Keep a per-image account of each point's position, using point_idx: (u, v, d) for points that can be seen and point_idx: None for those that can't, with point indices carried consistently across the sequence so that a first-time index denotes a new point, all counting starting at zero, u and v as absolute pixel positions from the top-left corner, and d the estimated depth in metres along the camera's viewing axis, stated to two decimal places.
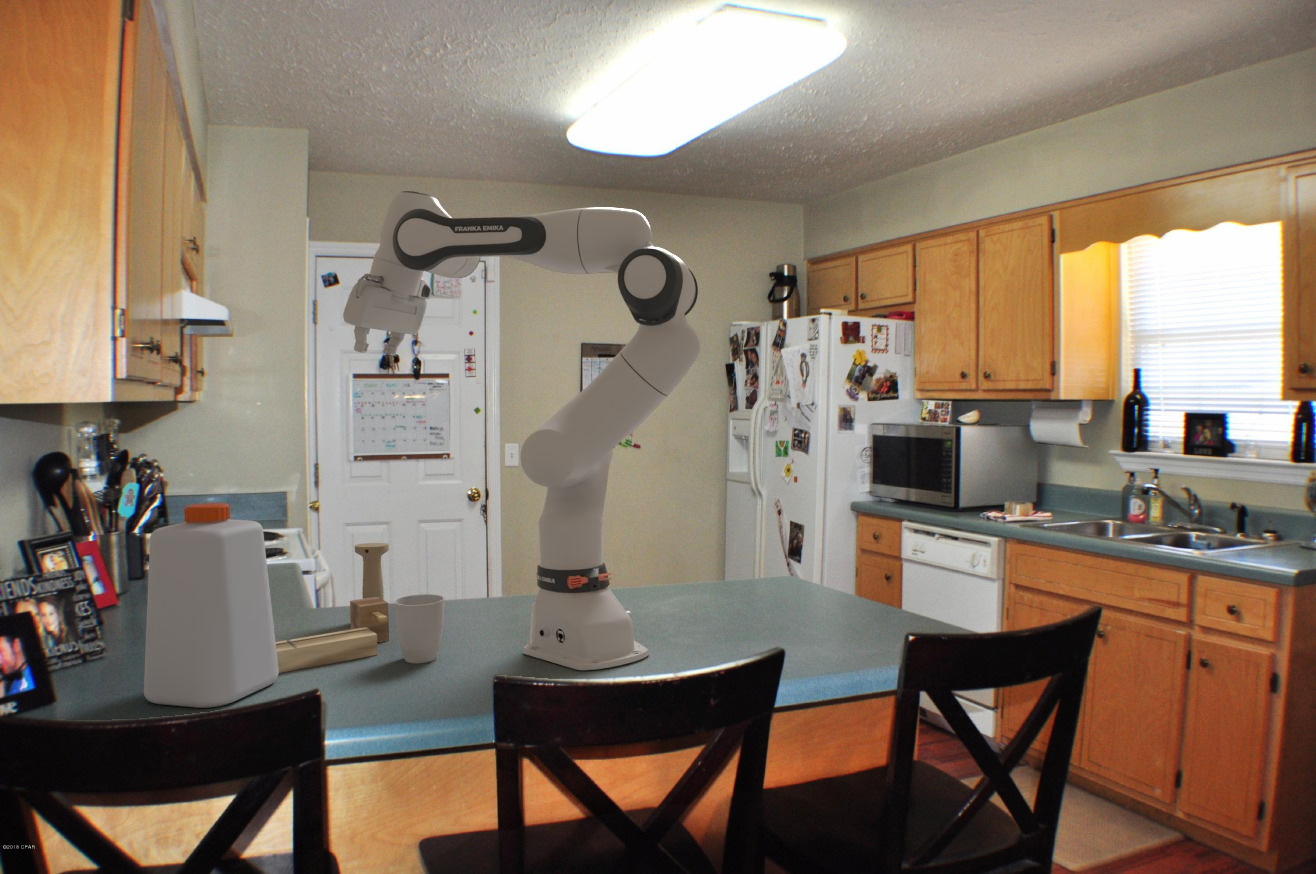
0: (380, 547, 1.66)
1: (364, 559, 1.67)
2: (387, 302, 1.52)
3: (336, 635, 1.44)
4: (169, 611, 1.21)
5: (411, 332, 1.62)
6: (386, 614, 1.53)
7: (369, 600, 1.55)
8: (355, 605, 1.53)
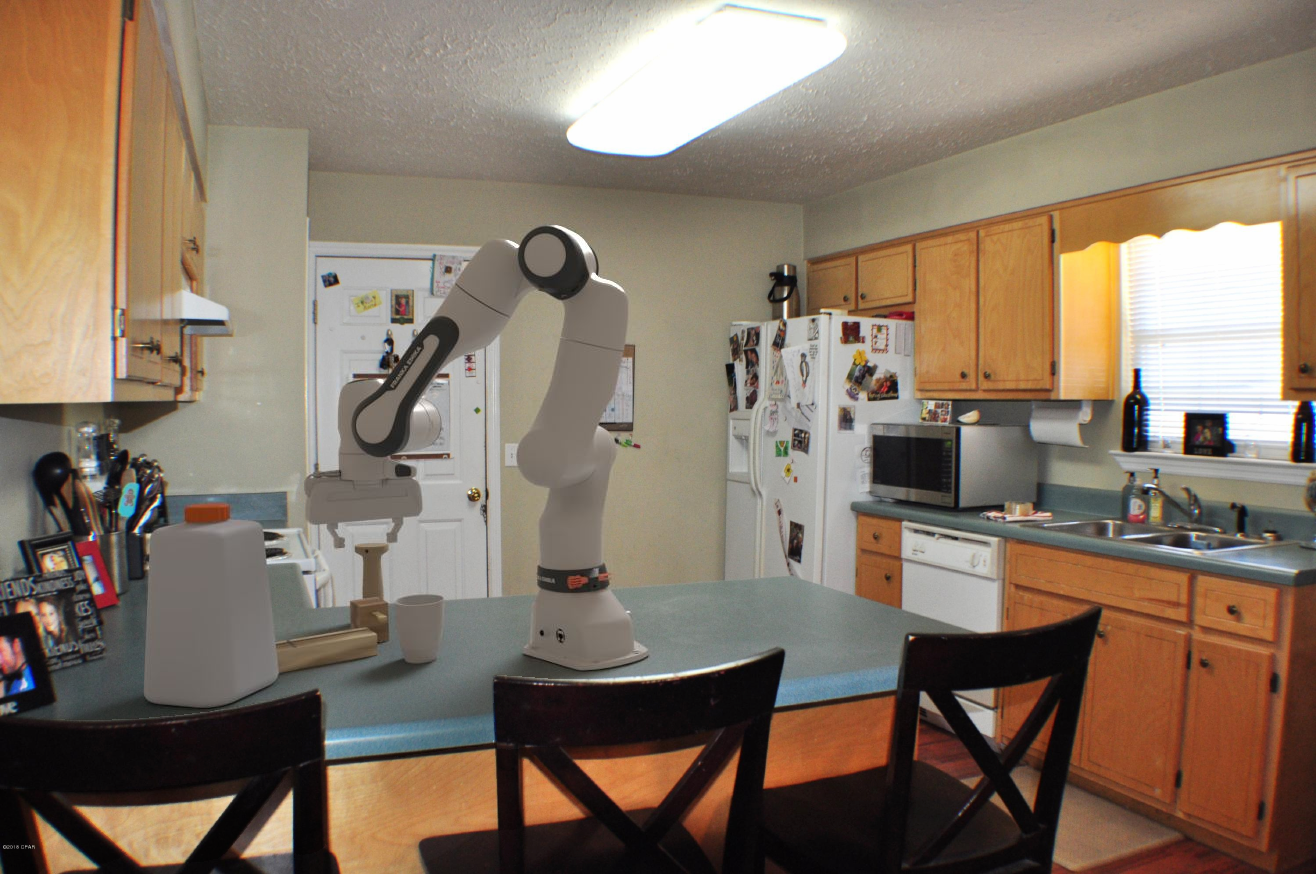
0: (380, 547, 1.66)
1: (364, 559, 1.67)
2: (350, 493, 1.51)
3: (336, 635, 1.44)
4: (169, 611, 1.21)
5: (409, 514, 1.57)
6: (386, 614, 1.53)
7: (369, 600, 1.55)
8: (355, 605, 1.53)
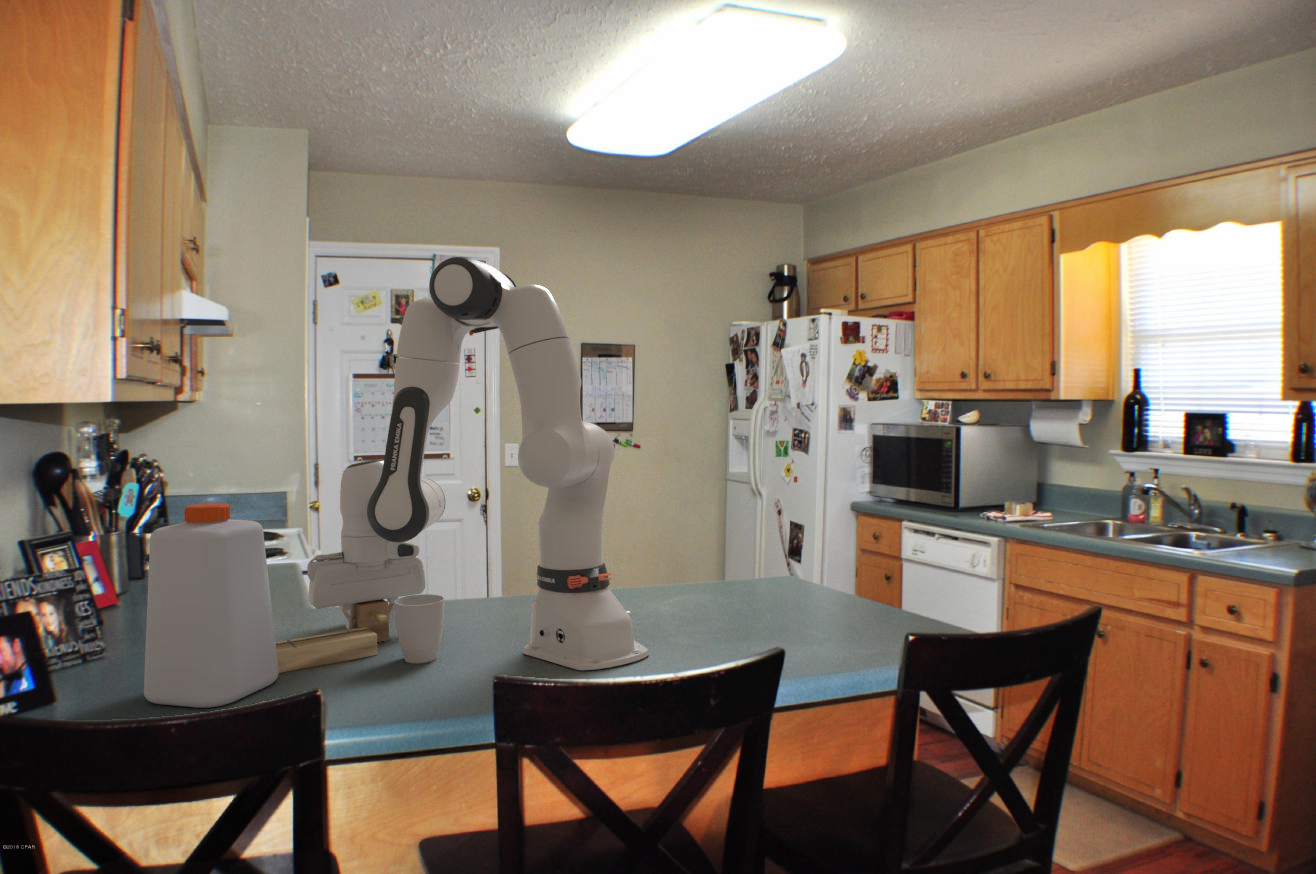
0: None
1: None
2: (353, 575, 1.51)
3: (336, 635, 1.44)
4: (169, 611, 1.21)
5: (412, 593, 1.57)
6: (386, 614, 1.53)
7: None
8: (355, 605, 1.53)
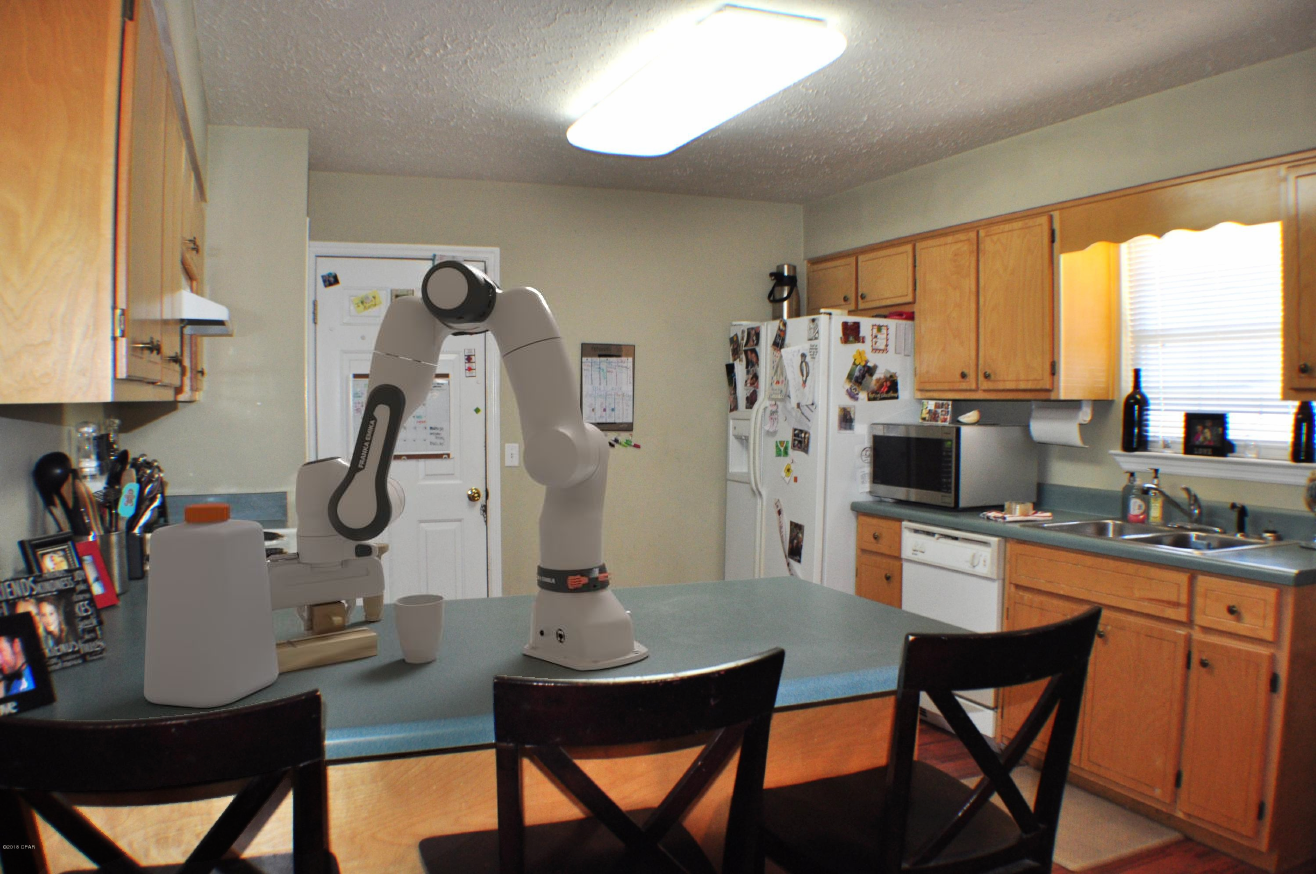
0: (380, 547, 1.66)
1: None
2: (309, 575, 1.47)
3: (336, 635, 1.44)
4: (169, 611, 1.21)
5: (371, 594, 1.53)
6: (343, 616, 1.49)
7: None
8: (311, 606, 1.48)
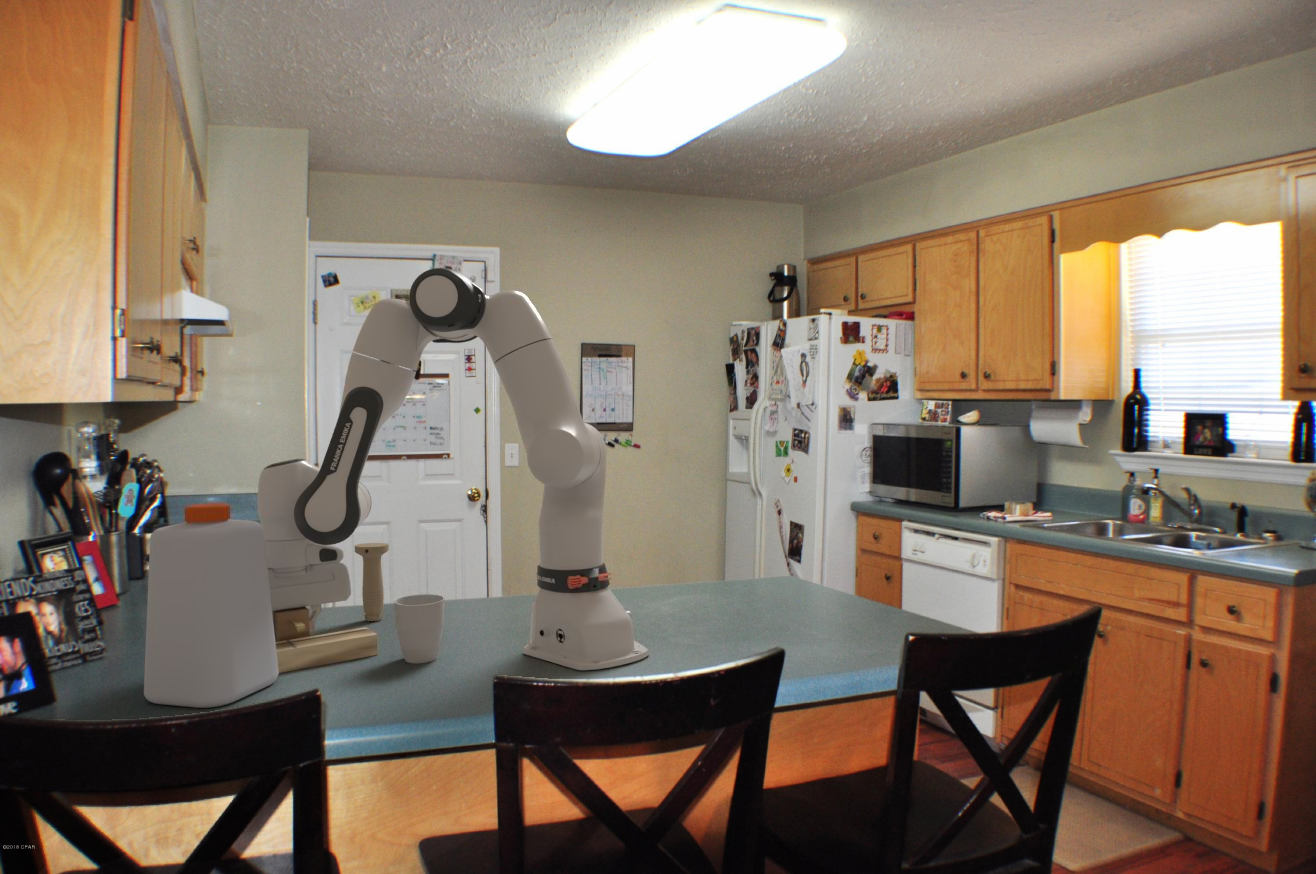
0: (380, 547, 1.66)
1: (364, 559, 1.67)
2: (271, 581, 1.43)
3: (336, 635, 1.44)
4: (169, 611, 1.21)
5: (336, 599, 1.49)
6: (307, 622, 1.45)
7: None
8: (274, 612, 1.45)
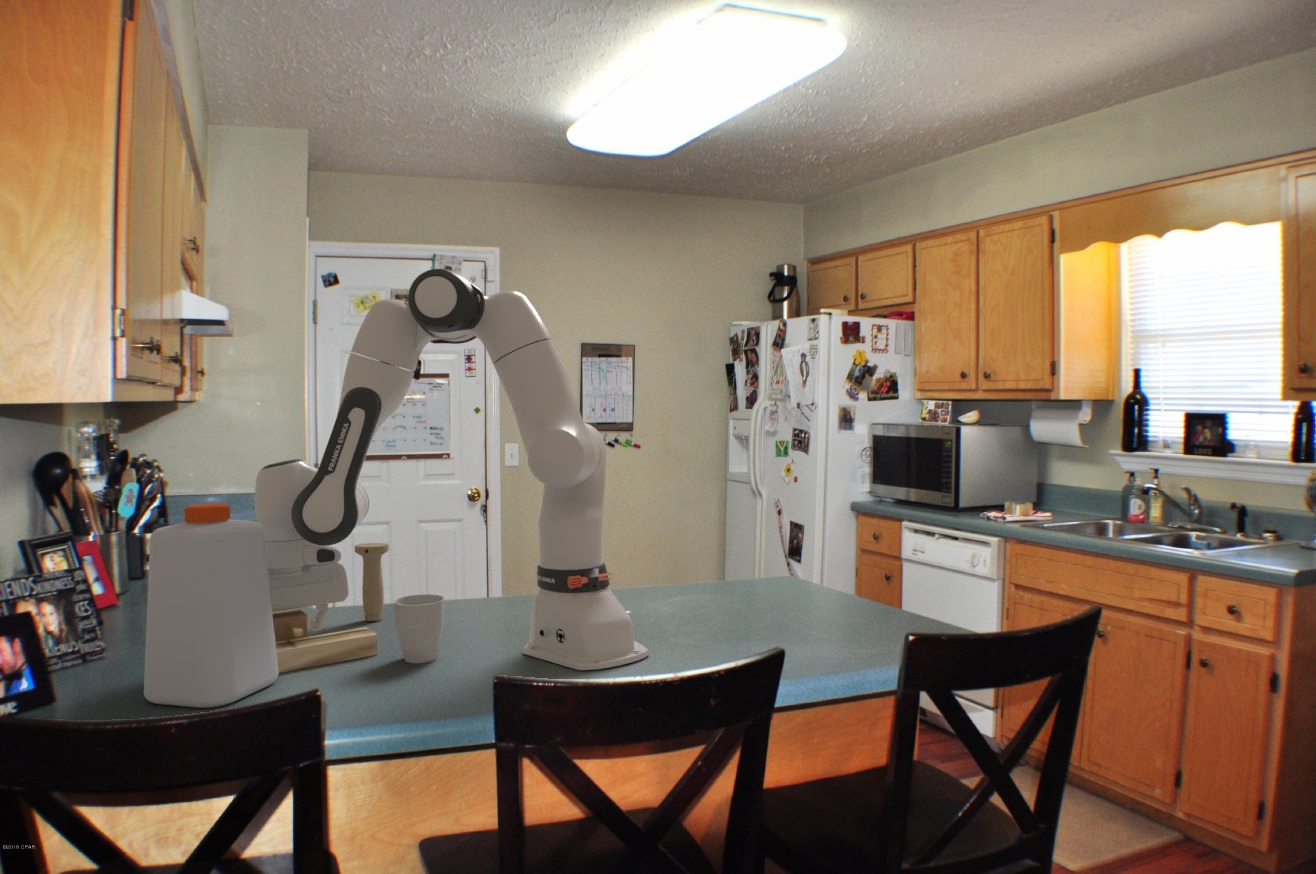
0: (380, 547, 1.66)
1: (364, 559, 1.67)
2: (269, 582, 1.43)
3: (336, 635, 1.44)
4: (169, 611, 1.21)
5: (334, 600, 1.49)
6: (305, 627, 1.45)
7: (288, 612, 1.47)
8: None
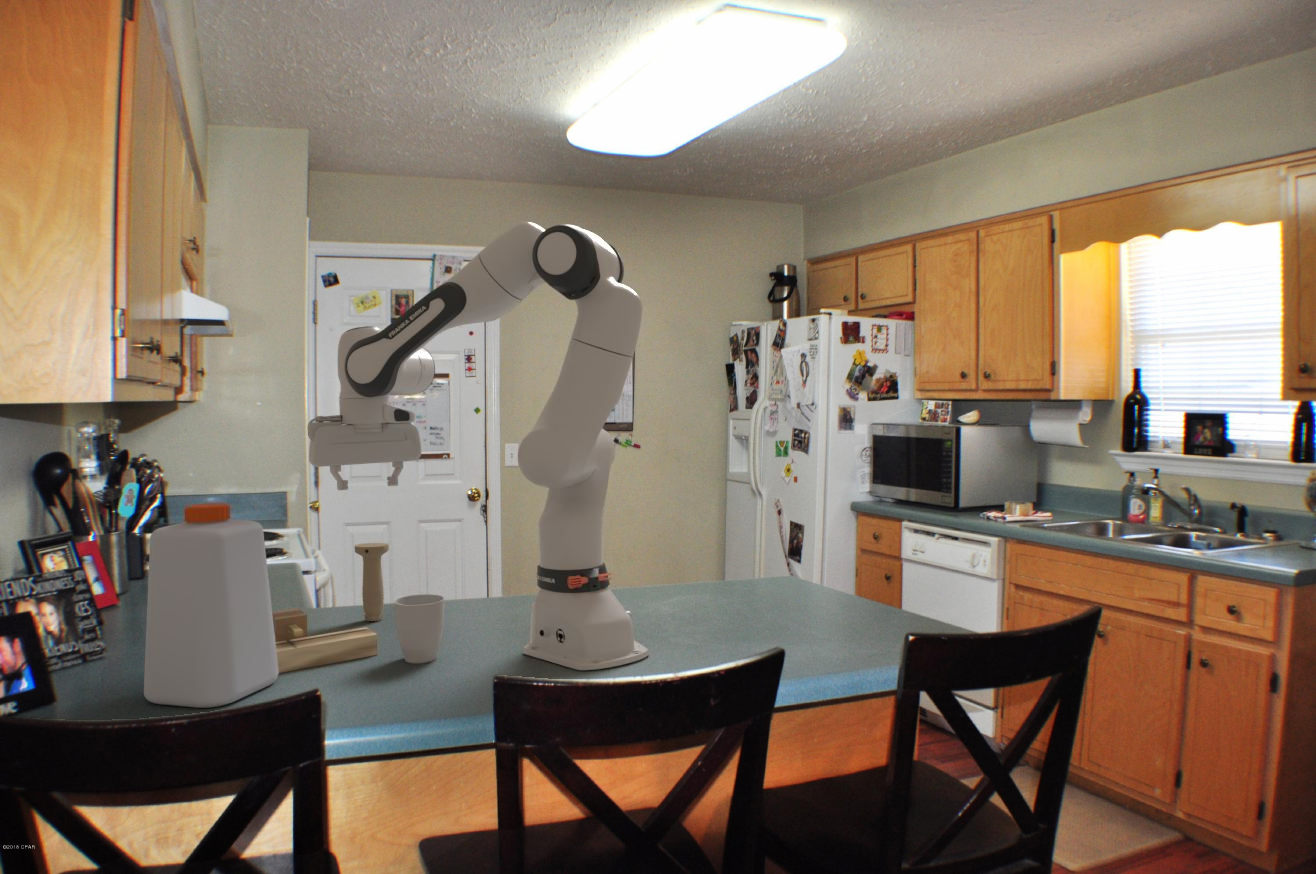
0: (380, 547, 1.66)
1: (364, 559, 1.67)
2: (352, 436, 1.57)
3: (336, 635, 1.44)
4: (169, 611, 1.21)
5: (409, 458, 1.63)
6: (305, 627, 1.45)
7: (288, 612, 1.47)
8: None
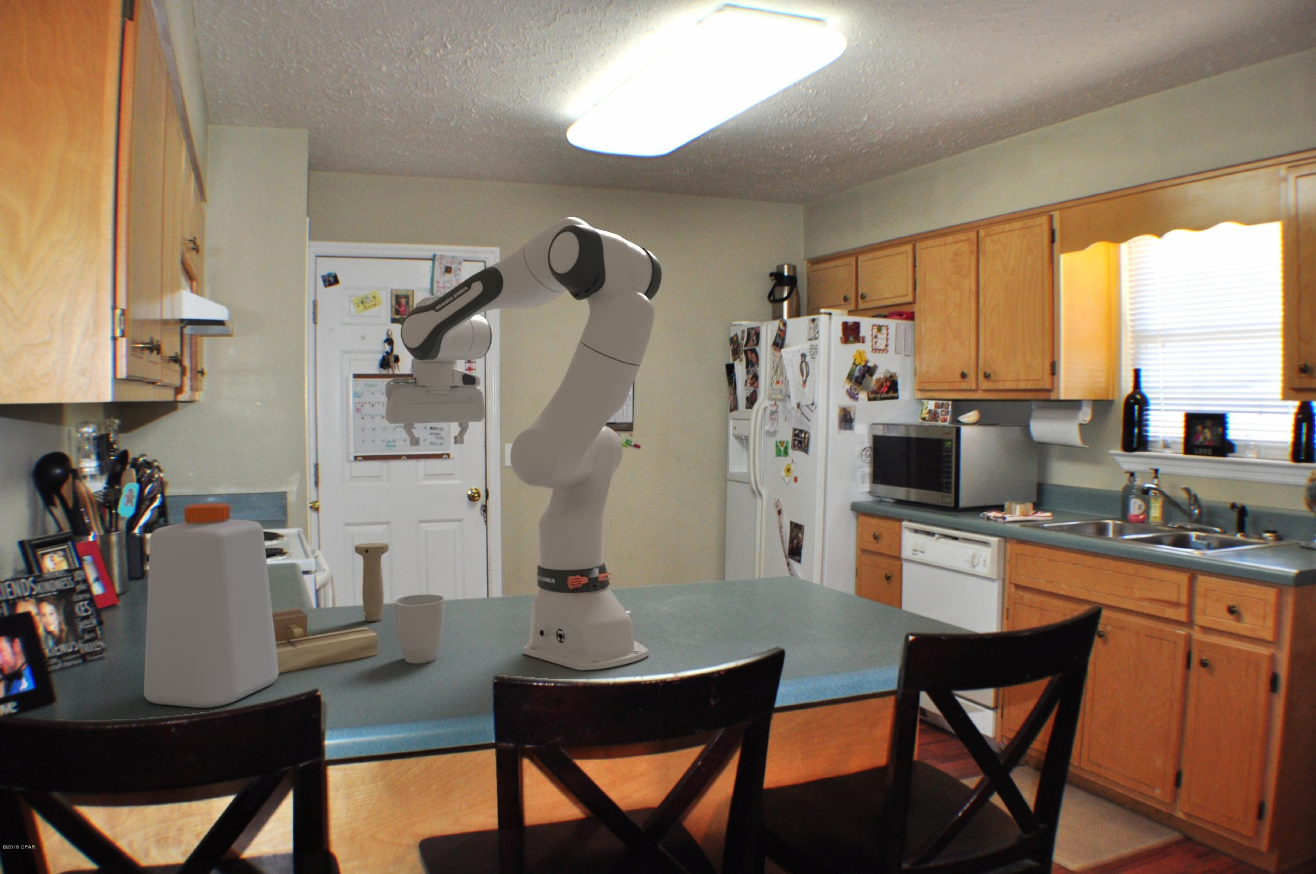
0: (380, 547, 1.66)
1: (364, 559, 1.67)
2: (424, 397, 1.72)
3: (336, 635, 1.44)
4: (169, 611, 1.21)
5: (474, 419, 1.78)
6: (305, 627, 1.45)
7: (288, 612, 1.47)
8: None
